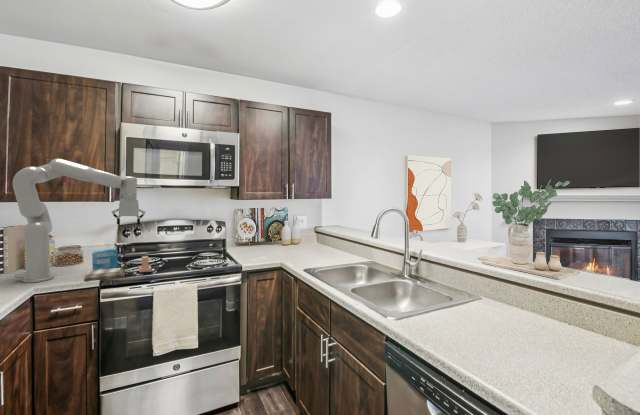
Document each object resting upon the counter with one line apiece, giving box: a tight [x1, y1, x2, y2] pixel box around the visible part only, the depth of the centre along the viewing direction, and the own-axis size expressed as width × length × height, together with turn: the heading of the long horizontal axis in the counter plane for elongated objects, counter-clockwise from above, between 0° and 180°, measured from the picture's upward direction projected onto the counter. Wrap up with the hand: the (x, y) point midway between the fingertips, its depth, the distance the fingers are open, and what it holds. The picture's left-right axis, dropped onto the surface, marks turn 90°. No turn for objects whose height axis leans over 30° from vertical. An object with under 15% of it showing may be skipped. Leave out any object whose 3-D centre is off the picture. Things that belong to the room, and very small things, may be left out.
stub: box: [138, 255, 152, 273], centre depth 183 cm, size 6×9×8 cm, turn 32°
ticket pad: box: [83, 267, 126, 282], centre depth 172 cm, size 18×10×4 cm, turn 122°
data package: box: [91, 248, 119, 270], centre depth 188 cm, size 12×4×12 cm, turn 143°
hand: (128, 225), depth 186 cm, fingers open, 9 cm apart
